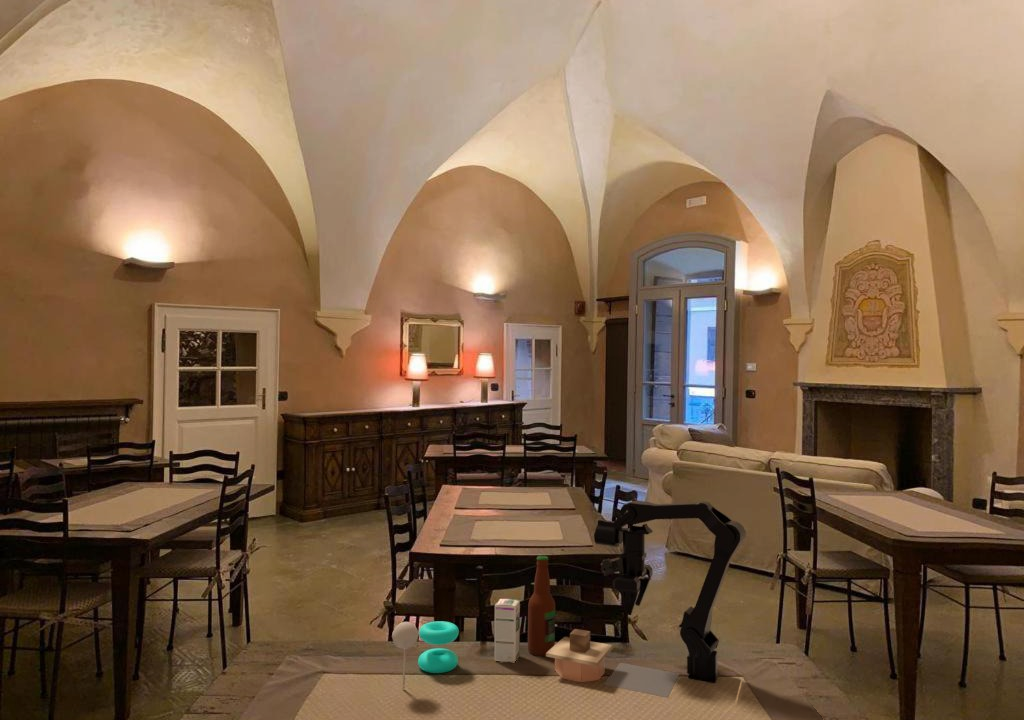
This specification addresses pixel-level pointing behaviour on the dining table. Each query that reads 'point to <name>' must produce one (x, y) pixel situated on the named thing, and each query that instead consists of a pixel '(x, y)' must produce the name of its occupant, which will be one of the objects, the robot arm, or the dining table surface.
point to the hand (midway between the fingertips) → (633, 610)
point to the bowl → (579, 670)
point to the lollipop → (405, 639)
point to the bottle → (541, 612)
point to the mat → (642, 679)
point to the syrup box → (507, 630)
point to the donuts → (438, 657)
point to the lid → (580, 649)
